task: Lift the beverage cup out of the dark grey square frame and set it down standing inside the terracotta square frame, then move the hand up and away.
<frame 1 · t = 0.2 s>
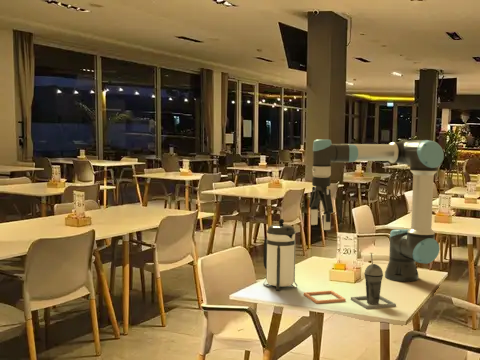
hand: (320, 227, 235), 28 cm above the table, tool pointing down, fingers open, 13 cm apart
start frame: (372, 302, 223), on the table
beverage cup: (372, 303, 224), resting in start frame
coffee press: (277, 286, 247), on the table
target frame: (324, 298, 229), on the table
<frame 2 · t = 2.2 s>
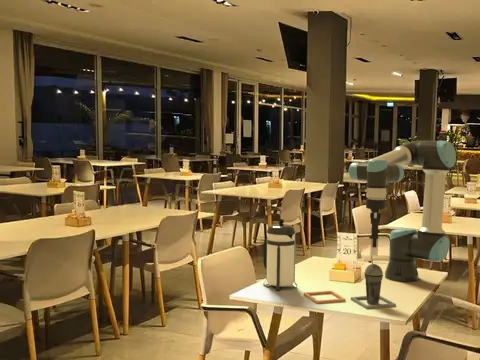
hand: (373, 252, 222), 20 cm above the table, tool pointing down, fingers open, 13 cm apart
nothing on the table moved.
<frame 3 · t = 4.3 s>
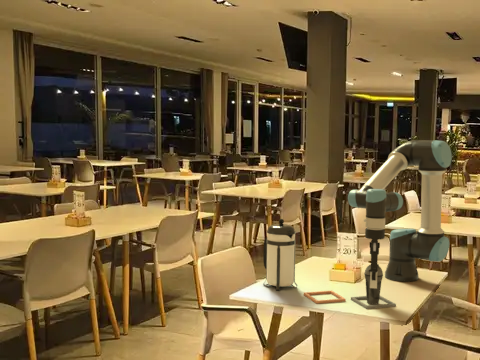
hand: (373, 285, 223), 7 cm above the table, tool pointing down, fingers closed on beverage cup, 7 cm apart
beverage cup: (372, 303, 223), resting in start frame, touching gripper
everything else where it was.
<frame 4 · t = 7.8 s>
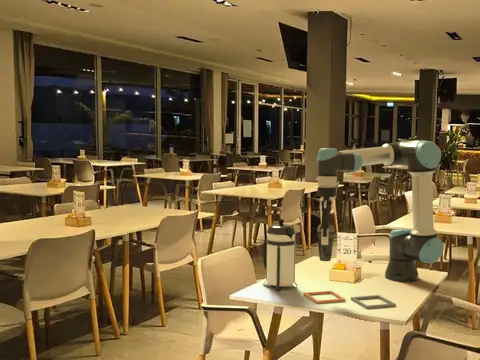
hand: (325, 242, 228), 23 cm above the table, tool pointing down, fingers closed on beverage cup, 7 cm apart
beverage cup: (325, 260, 228), point 16 cm above the table, touching gripper
everything else where it was.
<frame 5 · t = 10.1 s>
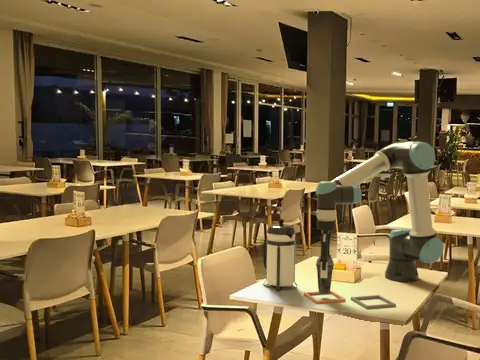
hand: (324, 275, 229), 9 cm above the table, tool pointing down, fingers closed on beverage cup, 7 cm apart
beverage cup: (324, 293, 229), point 2 cm above the table, touching gripper
everything else where it was.
when the fingers open (9 cm above the table, at t = 11.2 s): beverage cup drops 1 cm, resting in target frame.
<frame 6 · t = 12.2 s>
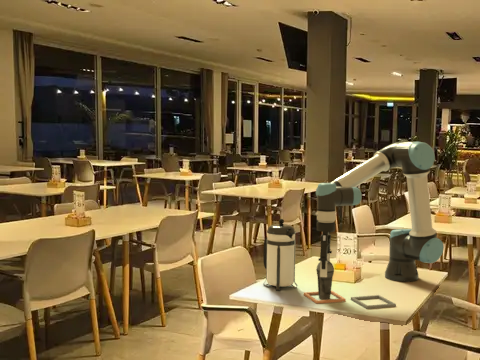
hand: (324, 273, 229), 10 cm above the table, tool pointing down, fingers open, 13 cm apart
beverage cup: (324, 298, 230), resting in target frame
everything else where it was.
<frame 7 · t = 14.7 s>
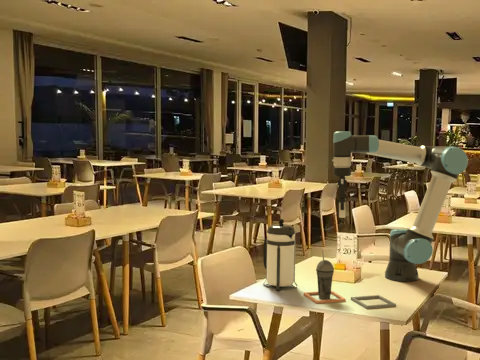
hand: (342, 215, 246), 32 cm above the table, tool pointing down, fingers open, 13 cm apart
nothing on the table moved.
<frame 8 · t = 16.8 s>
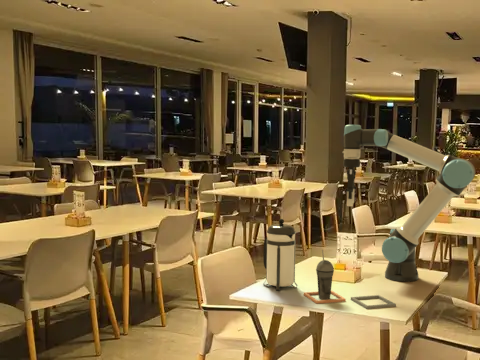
hand: (350, 204, 260), 35 cm above the table, tool pointing down, fingers open, 13 cm apart
nothing on the table moved.
at the end: beverage cup 0.3 cm off-centre on the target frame, point 0.0 cm above the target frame's base; beverage cup tilted 0°; the gripper is holding nothing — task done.
